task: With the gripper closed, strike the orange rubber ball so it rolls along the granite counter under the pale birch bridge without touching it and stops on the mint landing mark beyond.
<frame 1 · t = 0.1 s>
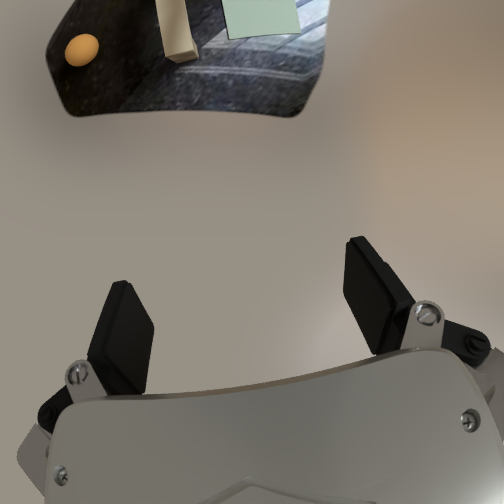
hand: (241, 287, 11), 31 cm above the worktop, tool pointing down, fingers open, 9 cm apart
landing mark: (260, 5, 26), on the worktop
bridge: (180, 18, 26), on the worktop
ball: (81, 50, 24), on the worktop
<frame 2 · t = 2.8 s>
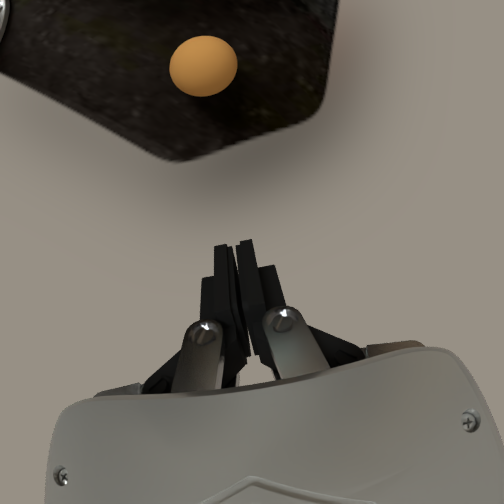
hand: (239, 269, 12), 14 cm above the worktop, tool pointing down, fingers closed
ball: (203, 65, 17), on the worktop
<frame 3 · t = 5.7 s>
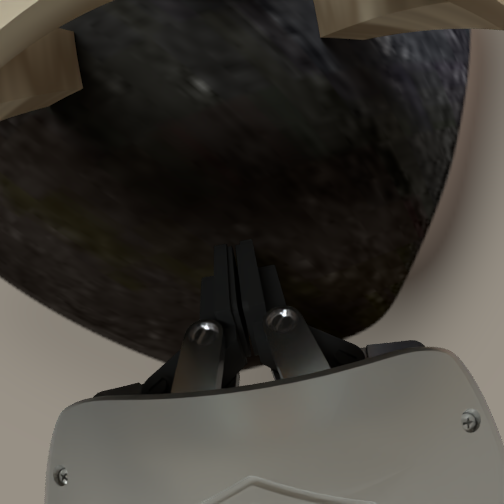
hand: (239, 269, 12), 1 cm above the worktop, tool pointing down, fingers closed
bridge: (190, 18, 7), on the worktop
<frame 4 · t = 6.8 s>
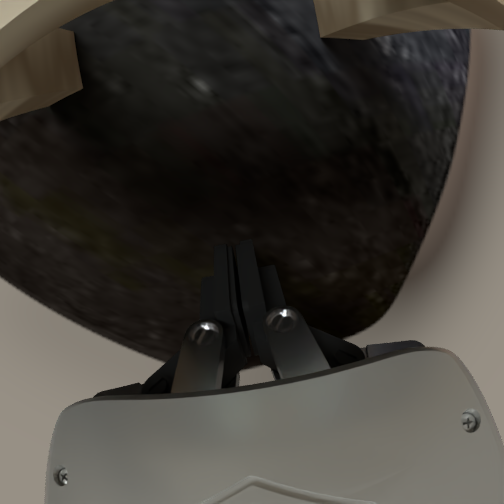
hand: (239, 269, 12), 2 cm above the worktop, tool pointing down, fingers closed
bridge: (190, 18, 7), on the worktop
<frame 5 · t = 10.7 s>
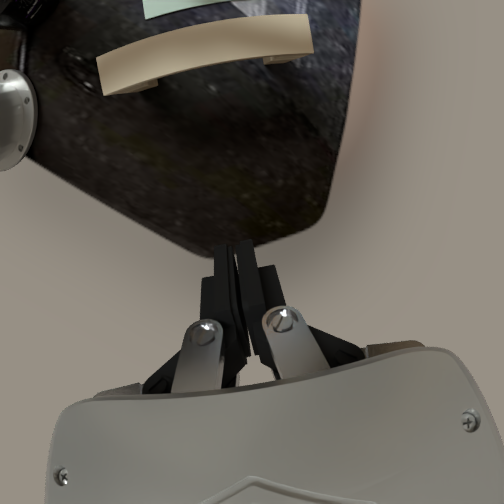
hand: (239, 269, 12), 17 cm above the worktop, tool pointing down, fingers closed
supplement bottle: (40, 5, 12), on the worktop
bridge: (207, 58, 20), on the worktop
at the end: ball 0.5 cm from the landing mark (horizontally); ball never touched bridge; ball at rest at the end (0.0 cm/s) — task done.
